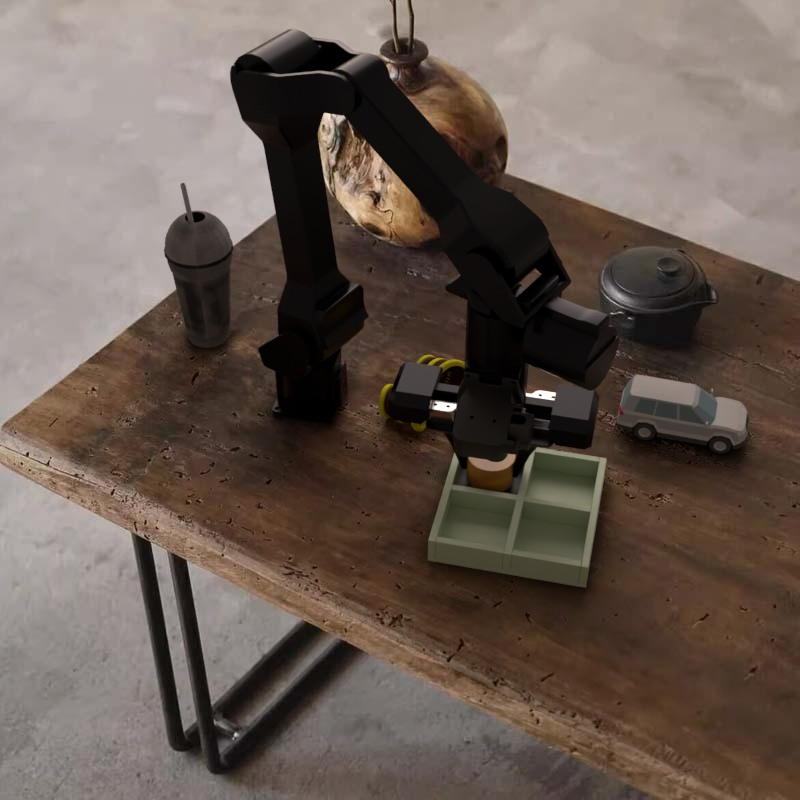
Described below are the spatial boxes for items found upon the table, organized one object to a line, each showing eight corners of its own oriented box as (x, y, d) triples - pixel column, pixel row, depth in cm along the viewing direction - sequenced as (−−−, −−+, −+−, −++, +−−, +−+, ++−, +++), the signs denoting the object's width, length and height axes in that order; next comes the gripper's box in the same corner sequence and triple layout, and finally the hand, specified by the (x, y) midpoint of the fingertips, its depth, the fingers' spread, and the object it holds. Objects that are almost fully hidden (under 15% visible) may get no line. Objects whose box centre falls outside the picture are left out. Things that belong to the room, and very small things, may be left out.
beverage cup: (255, 329, 147) (241, 172, 134) (214, 363, 142) (195, 205, 129) (204, 308, 150) (185, 153, 137) (162, 341, 145) (138, 184, 132)
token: (461, 489, 126) (463, 467, 124) (471, 457, 129) (472, 434, 127) (509, 497, 125) (511, 474, 123) (517, 465, 128) (519, 442, 126)
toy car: (742, 460, 130) (751, 422, 127) (613, 437, 133) (618, 399, 130) (747, 423, 135) (755, 386, 131) (622, 401, 137) (627, 364, 134)
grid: (427, 560, 120) (427, 540, 119) (458, 455, 131) (459, 435, 129) (585, 588, 118) (588, 567, 116) (604, 478, 129) (607, 458, 127)
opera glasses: (436, 381, 141) (429, 341, 138) (475, 393, 138) (469, 353, 135) (378, 428, 135) (370, 388, 133) (417, 442, 132) (410, 401, 130)
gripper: (372, 384, 112) (375, 513, 122) (592, 417, 109) (576, 547, 119) (402, 307, 120) (402, 434, 130) (607, 336, 117) (591, 464, 127)
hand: (490, 470), depth 126 cm, fingers closed on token, 5 cm apart
